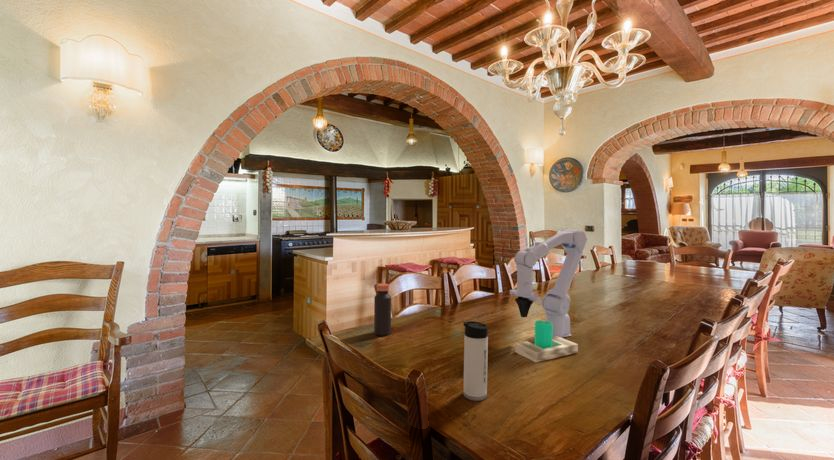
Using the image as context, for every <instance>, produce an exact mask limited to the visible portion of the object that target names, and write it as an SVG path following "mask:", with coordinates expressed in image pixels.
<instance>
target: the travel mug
mask: <svg viewBox="0 0 834 460" xmlns="http://www.w3.org/2000/svg"><path fill="white" fill-rule="evenodd" d="M462 325H463V327H464V334H463V335H464V336H463V337H464V339H463V340H464V341H463V342H464V343H463V344H464V346H463V347H464V349H463V396H464V397H465V398H466V399H468V400H470V401H475V402H477V401H478V402H479V401H483V400H485V399H487V396H488V393H487V392H488V355H489V354H488V353H489V351H488V350H489V347H488V346H489V345H488V344H489V333H488V332H489V327H488V326H487V325H486V324H484V323H483V322H479V321H472V320H468V321H463V324H462Z"/></svg>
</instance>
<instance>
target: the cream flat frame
mask: <svg viewBox="0 0 834 460" xmlns="http://www.w3.org/2000/svg"><path fill="white" fill-rule="evenodd" d="M578 347H579V344H578V343H576V342H573V341H570V340H568V339H565V338H564V337H563V338H561V337H558V336H552V347H550V348H545V349H543V348H540V347H538V346H536V345H534V344H533V342H531V341H530V342H529V341H521V342H517V343H514V353H516V354H519V355H520V356H522V357H525V358H526V359H528V360H530V361H532V362H534V363H539V362H543V361H548V360H552V359H555V358H556V359H557V358H560V357H565V356H568V355H574V354H578V353H579V350H578Z"/></svg>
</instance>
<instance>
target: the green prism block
mask: <svg viewBox="0 0 834 460" xmlns="http://www.w3.org/2000/svg"><path fill="white" fill-rule="evenodd" d="M552 335H553V324H552V323H550V322H548V321H546V320H540V319H539V320H535V322H534V345H536V346H538V347H540V348H543V349H545V348H550V347H552Z"/></svg>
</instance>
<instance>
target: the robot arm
mask: <svg viewBox="0 0 834 460" xmlns="http://www.w3.org/2000/svg"><path fill="white" fill-rule="evenodd" d="M587 241H588V238H587V235H586V233H585V231H584V230H582V229H565V228H561V229H560V230H559V231H556V233H555V234H554V235H553V236H551V237H550V238H548V239H547V240H545V241H544V242H542V241H536V242H534V244H533V245H531V246H530V247H526V248H525V250H519V251H517V253H516V254H515V256H514V258H513V260H514V263H515V266H516V274H517V275H516V289H510V290H509V295H511V296H515V297H517V298H515V299H514V301H515V302H516V305H517V307H518V310H519V315H520V317H521V318H527V317H528V314H529V311H530V309H531V306H532V305H533V304H534V303H537V304H538V303H541V306H542V309H544V312H545V321H548V322H550V323H552V324H553V335H552V336H558V337H561V338H563V339H564V338H567V337H572V336H573V335H572V334H571V318H570V316H569V314H568V313H569V311H570V304H571V301H572V299H571V297H570V296H569V294H568V292H569V290H570V287H571V284H572V281H573V279H574V276H575V274H576V271H577V268H578V267H579V264H580V261H581V258H582V256H583V252H584V248H585V246H586V244H587ZM559 245H561V247H562V248H563V249H564V251H566V256H565V258H564V261H563V264H562V267H561V268H560V272H559V274H558V275H557V278H556V281H555V284H554V286H553V288H551V289H549V290H547V292H546V293H545V295H544V296H543V298H541V296H538V295H536V294H534V293H533V277H534V276H533V273H534V272H533V270H534V267H535V266H536V264H537V262H538V260H540V259H542V258H543V257H545V256H546V255H548V254H549V250H551V249H554V248H555V247H557V246H559Z"/></svg>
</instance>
